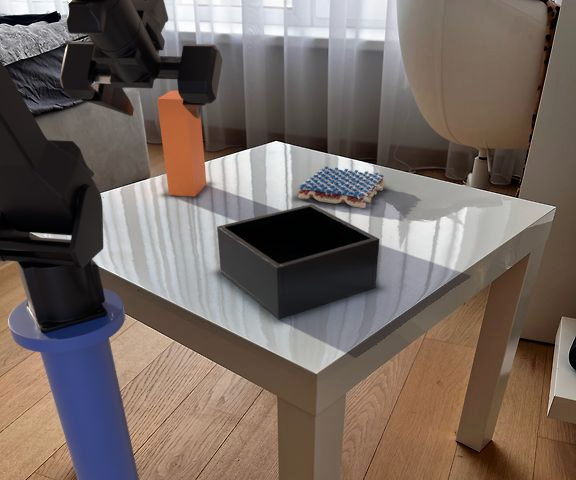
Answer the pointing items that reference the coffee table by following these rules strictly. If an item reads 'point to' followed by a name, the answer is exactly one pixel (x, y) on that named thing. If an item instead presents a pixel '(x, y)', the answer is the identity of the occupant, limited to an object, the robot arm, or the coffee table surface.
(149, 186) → the coffee table surface
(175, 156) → the block
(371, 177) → the woven mat
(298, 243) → the bin
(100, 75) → the robot arm
